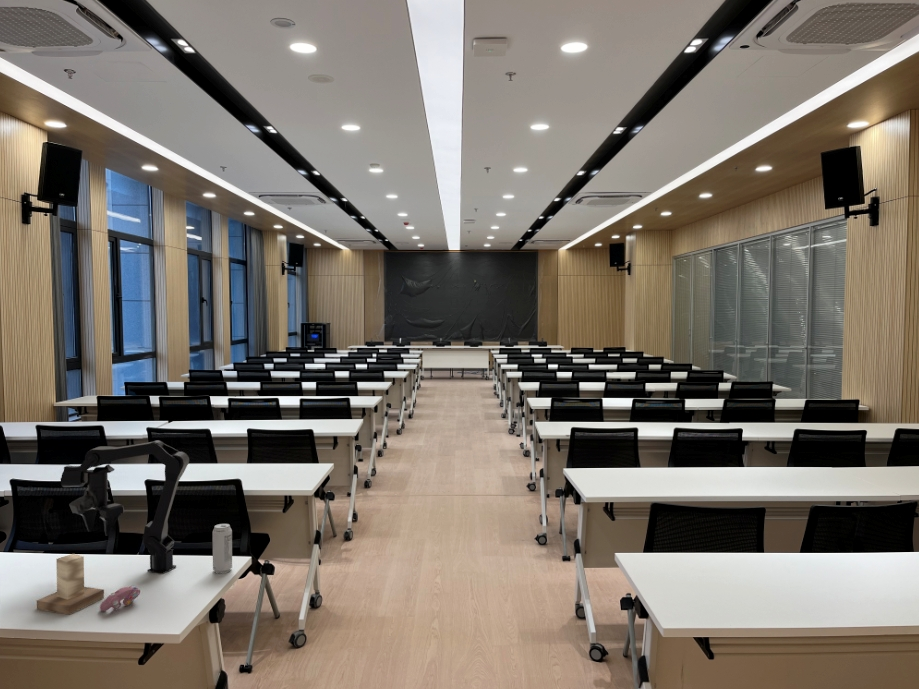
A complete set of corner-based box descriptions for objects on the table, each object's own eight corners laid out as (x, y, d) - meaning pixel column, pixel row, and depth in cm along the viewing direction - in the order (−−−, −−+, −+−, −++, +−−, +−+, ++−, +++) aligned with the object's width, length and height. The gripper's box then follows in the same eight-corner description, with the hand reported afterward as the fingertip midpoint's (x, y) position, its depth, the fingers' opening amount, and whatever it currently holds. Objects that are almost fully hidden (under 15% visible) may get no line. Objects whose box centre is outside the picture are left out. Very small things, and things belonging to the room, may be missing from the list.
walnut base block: (103, 597, 198) (103, 589, 198) (69, 614, 187) (69, 605, 187) (72, 593, 202) (72, 584, 202) (36, 609, 190) (36, 600, 190)
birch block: (74, 590, 197) (73, 553, 197) (84, 593, 195) (83, 556, 195) (57, 596, 193) (56, 558, 193) (67, 599, 191) (66, 561, 190)
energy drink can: (219, 566, 224) (218, 522, 223) (235, 568, 222) (235, 523, 222) (209, 573, 218) (208, 527, 217) (226, 574, 216) (225, 529, 216)
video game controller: (106, 619, 187) (112, 599, 185) (97, 609, 189) (103, 589, 187) (138, 606, 196) (144, 587, 194) (129, 596, 198) (135, 578, 196)
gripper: (56, 488, 215) (57, 535, 216) (91, 494, 206) (92, 544, 207) (89, 480, 225) (90, 526, 225) (124, 487, 216) (125, 534, 217)
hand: (98, 533), depth 218 cm, fingers open, 9 cm apart
